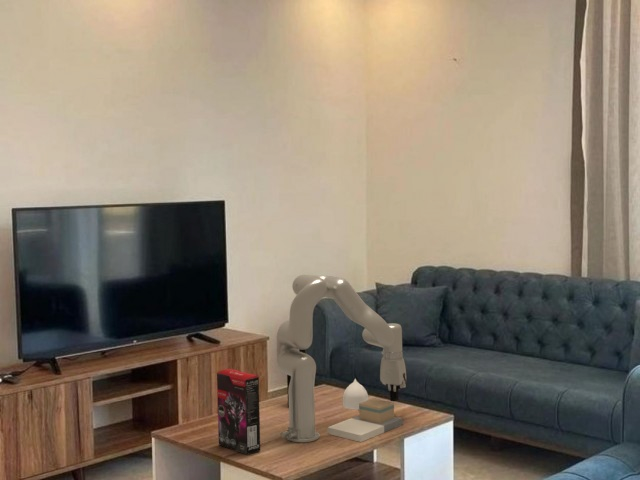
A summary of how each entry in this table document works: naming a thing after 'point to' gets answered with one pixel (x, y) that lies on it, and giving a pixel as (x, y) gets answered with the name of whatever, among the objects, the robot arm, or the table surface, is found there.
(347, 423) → the grey and cream slab
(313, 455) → the table surface
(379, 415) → the carton
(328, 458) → the table surface
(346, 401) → the teardrop
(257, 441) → the graphics card box
